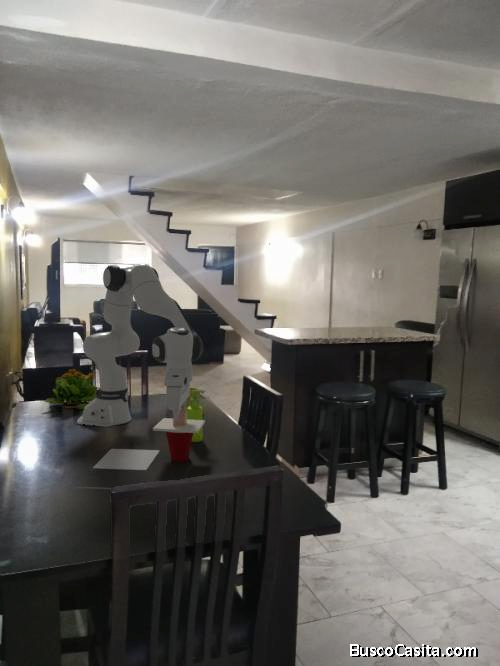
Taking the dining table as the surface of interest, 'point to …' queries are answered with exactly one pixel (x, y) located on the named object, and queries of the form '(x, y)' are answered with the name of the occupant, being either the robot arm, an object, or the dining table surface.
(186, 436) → the plastic cup
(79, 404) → the potted flower
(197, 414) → the soap dispenser
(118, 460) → the mat
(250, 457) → the dining table surface
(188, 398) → the plant pot
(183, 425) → the lid
